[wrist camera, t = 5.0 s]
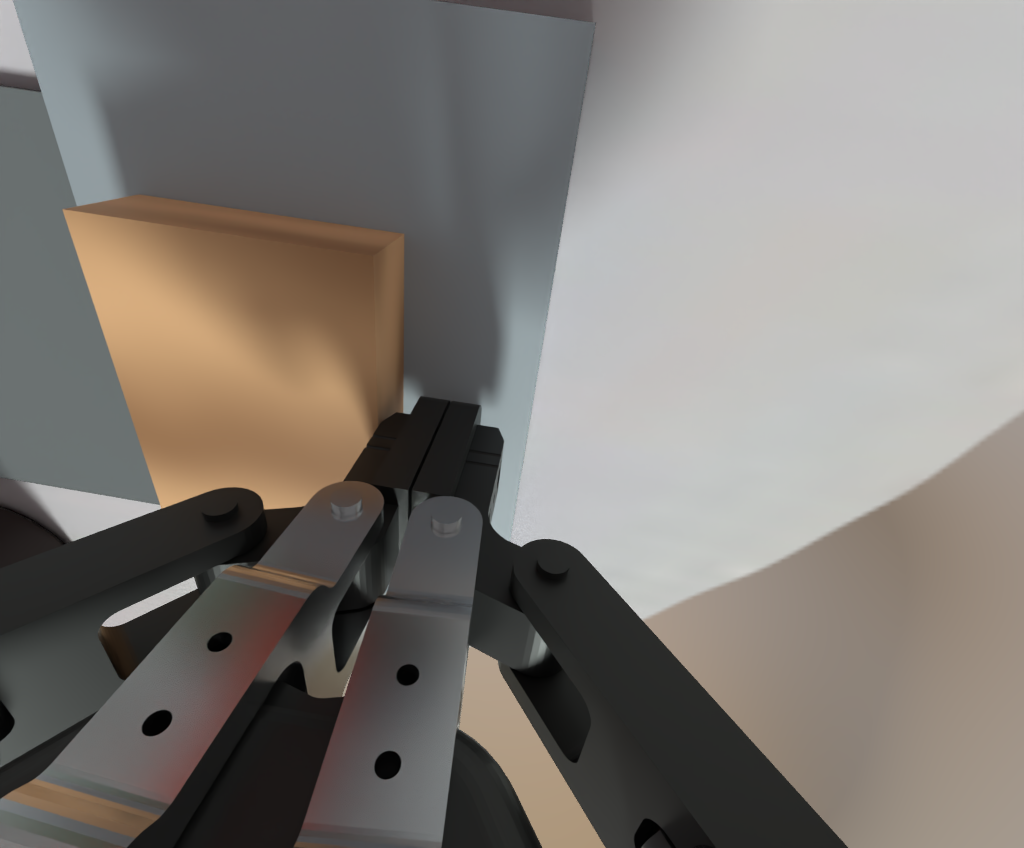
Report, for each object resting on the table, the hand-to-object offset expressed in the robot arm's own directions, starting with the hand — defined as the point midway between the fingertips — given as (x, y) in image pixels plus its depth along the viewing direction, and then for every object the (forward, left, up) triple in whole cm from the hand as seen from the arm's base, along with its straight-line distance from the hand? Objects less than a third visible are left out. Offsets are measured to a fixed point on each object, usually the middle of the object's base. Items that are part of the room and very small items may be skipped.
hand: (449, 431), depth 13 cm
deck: (0, -4, -3) cm, 5 cm away
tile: (0, -4, 0) cm, 4 cm away
